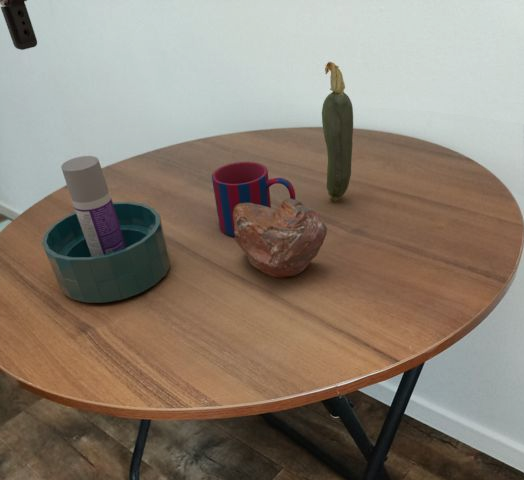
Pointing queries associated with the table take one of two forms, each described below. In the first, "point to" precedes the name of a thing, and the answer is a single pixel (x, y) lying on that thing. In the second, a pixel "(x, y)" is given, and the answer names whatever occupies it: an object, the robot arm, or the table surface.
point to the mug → (242, 190)
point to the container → (93, 205)
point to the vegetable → (337, 134)
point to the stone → (279, 236)
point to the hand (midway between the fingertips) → (8, 43)
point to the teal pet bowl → (109, 256)
